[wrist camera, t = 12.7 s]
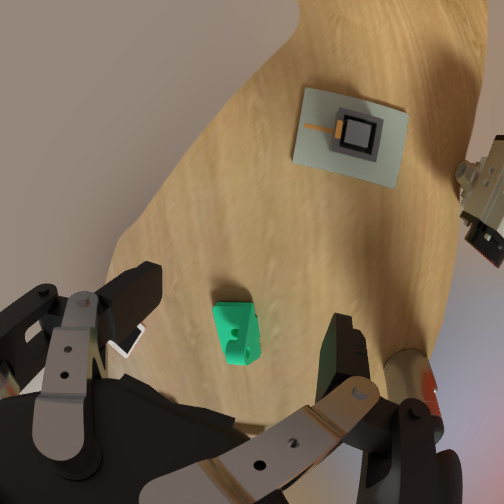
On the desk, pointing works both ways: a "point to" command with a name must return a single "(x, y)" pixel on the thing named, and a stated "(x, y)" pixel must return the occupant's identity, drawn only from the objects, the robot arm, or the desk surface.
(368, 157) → the grey open box
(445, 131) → the desk surface
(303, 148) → the grey base with post
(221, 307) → the camera mount
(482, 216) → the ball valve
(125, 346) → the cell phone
